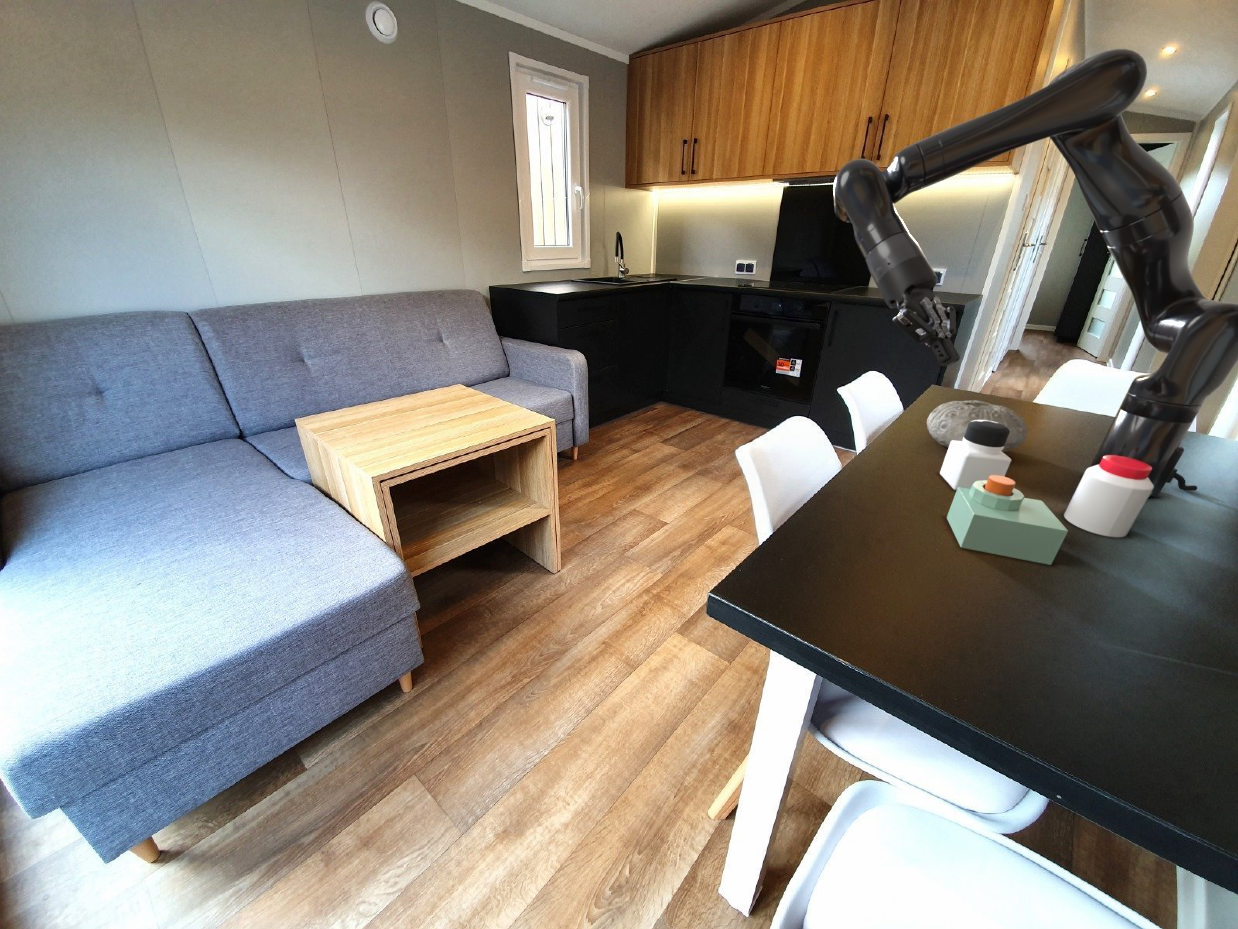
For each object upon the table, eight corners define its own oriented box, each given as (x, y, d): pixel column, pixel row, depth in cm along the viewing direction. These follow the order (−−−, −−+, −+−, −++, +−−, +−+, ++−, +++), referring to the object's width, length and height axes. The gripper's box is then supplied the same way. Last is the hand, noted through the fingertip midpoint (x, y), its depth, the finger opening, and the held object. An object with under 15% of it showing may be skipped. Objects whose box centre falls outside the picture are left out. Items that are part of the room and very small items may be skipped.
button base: (1026, 532, 76) (1046, 489, 72) (1051, 565, 68) (1074, 519, 65) (946, 517, 79) (961, 476, 76) (960, 547, 71) (978, 503, 68)
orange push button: (1006, 489, 73) (1011, 477, 72) (1013, 499, 70) (1019, 486, 69) (981, 485, 74) (986, 473, 73) (987, 494, 71) (992, 482, 70)
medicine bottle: (997, 495, 86) (1024, 432, 81) (953, 490, 88) (977, 428, 82) (979, 478, 93) (1002, 418, 88) (938, 473, 94) (959, 414, 89)
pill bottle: (1111, 517, 81) (1143, 456, 76) (1138, 541, 74) (1176, 477, 70) (1055, 508, 83) (1083, 448, 78) (1076, 531, 76) (1109, 468, 72)
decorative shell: (915, 427, 117) (928, 387, 113) (1003, 440, 111) (1020, 398, 107) (928, 455, 102) (944, 410, 98) (1030, 471, 96) (1051, 424, 92)
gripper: (893, 252, 73) (949, 352, 68) (945, 254, 79) (1000, 346, 74) (854, 286, 79) (903, 379, 75) (905, 285, 85) (953, 372, 81)
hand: (951, 363), depth 75 cm, fingers closed
